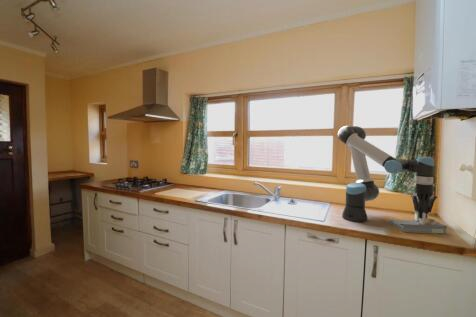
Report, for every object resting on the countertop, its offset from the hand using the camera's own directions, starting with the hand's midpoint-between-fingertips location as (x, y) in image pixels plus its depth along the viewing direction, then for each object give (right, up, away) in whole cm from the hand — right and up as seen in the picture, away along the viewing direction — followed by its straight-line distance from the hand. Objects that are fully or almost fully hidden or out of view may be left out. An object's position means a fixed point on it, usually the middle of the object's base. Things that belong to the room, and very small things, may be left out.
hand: (422, 223), depth 130 cm
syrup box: (+11, -4, +14) cm, 19 cm away
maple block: (+3, -2, +1) cm, 4 cm away
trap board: (0, -4, +4) cm, 6 cm away
